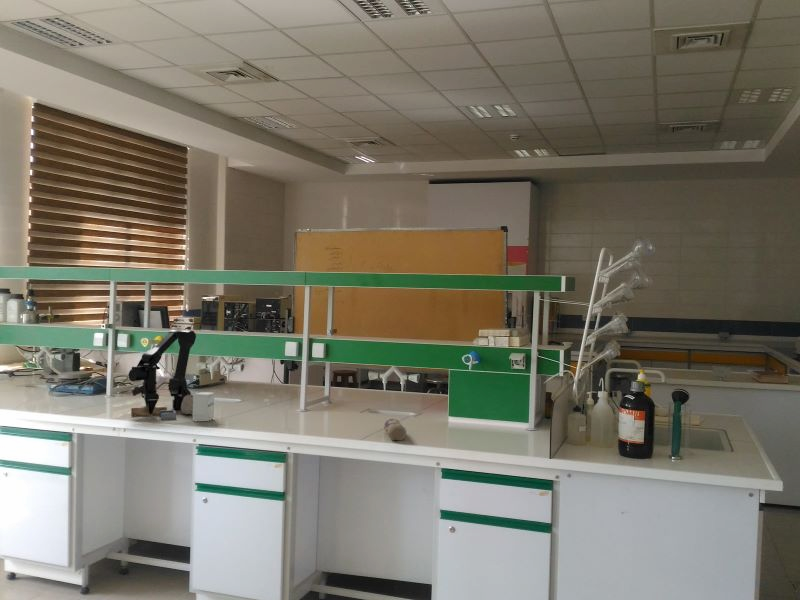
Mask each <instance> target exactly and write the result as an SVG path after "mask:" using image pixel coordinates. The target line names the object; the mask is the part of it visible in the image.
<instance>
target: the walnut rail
mask: <svg viewBox="0 0 800 600" xmlns="http://www.w3.org/2000/svg"><path fill="white" fill-rule="evenodd" d="M165 410H168V405H155V408H154V410H153V412H152V414H149V409H148V406H146V405H145V406H131V408H130V411H131V412H130V414H131V415H130V416H131V417H134V416H133V415H147V416H159V411H165Z"/></svg>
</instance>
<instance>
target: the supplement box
mask: <svg viewBox="0 0 800 600" xmlns="http://www.w3.org/2000/svg"><path fill="white" fill-rule="evenodd" d="M192 395H193V415H192V422H197V421H208V422H210V421H212V420H211V419H213V418H214V419H215V392H207V391H205V392H204V391H199V392H197V393H194V394H193V393H192ZM214 419H213V420H214ZM209 420H210V421H209Z"/></svg>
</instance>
